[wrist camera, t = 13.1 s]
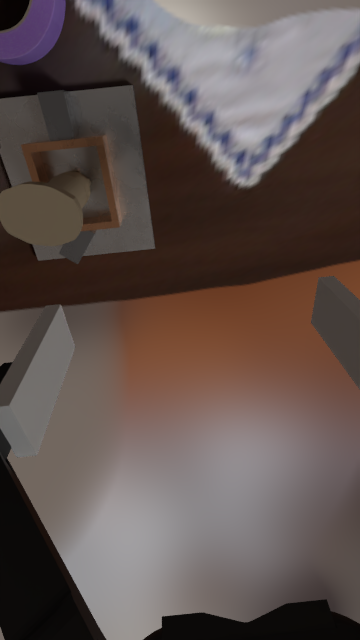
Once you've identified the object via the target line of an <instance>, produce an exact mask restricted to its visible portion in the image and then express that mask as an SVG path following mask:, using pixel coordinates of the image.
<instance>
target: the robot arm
mask: <svg viewBox="0 0 360 640" xmlns="http://www.w3.org/2000/svg"><path fill="white" fill-rule="evenodd" d="M311 323H312V324H313V326H314V327H315V329H316V330H317V331H318V333H319V334H320V335H321V337H322V338H323V340H324V341H325V342H326V344H327V345H328V347H329V348H330V349H331V351H332V352H333V353H334V355H335V356H336V358H337V359H338V360H339V361H340V363H341V364H342V366H343V367H344V369H345V370H346V371H347V372H348V374H349V375H350V377H351V378H352V379H353V381H354V382H355V384H356V385H357V386H358V388H359V389H360V300H359V299H358V298H357V297H356V296H355V295H354V294H353V293H351V292H350V291H349V290H348V289H347V288H346V287H345V286H344V285H343V284H342V283H341V282H340V281H338V280H337V279H336V278H335V277H334V276H329V277H321V278H319V279H318V285H317V291H316V296H315V302H314V308H313V314H312V320H311ZM74 349H75V345H74V342H73V339H72V336H71V333H70V330H69V327H68V325H67V322H66V318H65V315H64V313H63V310H62V307H61V304H60V305H51V306H45V308H44V310H43V312H42V313H41V316H40V317H39V319H38V320H37V322H36V324H35V325H34V327H33V329H32V331H31V332H30V334H29V336H28V337H27V339H26V341H25V343H24V344H23V346H22V348H21V349H20V351H19V353H18V354H17V356H16V358H15V360H14V361H13V362H10V363H4V364H3V365H1V366H0V627H1V630H2V633H3V636H4V639H5V640H106V638H105V637H104V635H103V633H102V632H101V630H100V628H99V627H98V625H97V623H96V621H95V619H94V618H93V616H92V614H91V612H90V610H89V608H88V606H87V605H86V603H85V601H84V599H83V597H82V595H81V594H80V592H79V590H78V588H77V586H76V584H75V583H74V581H73V579H72V577H71V575H70V573H69V571H68V570H67V568H66V566H65V564H64V562H63V560H62V558H61V557H60V555H59V553H58V551H57V549H56V547H55V545H54V544H53V542H52V540H51V538H50V536H49V534H48V533H47V531H46V529H45V527H44V525H43V523H42V522H41V520H40V518H39V516H38V514H37V512H36V510H35V509H34V507H33V505H32V503H31V501H30V499H29V497H28V496H27V494H26V492H25V490H24V488H23V486H22V485H21V483H20V481H19V479H18V477H17V475H16V474H15V471H14V470H13V468H12V466H11V464H10V462H9V461H8V459H7V456H8V454H9V452H10V449H12V450H13V452H14V454H15V455H16V457H27V456H36V455H37V454H38V451H39V448H40V446H41V443H42V440H43V437H44V434H45V431H46V429H47V426H48V423H49V420H50V417H51V415H52V411H53V409H54V406H55V403H56V400H57V398H58V394H59V392H60V389H61V386H62V383H63V380H64V378H65V375H66V372H67V369H68V366H69V364H70V361H71V358H72V355H73V352H74ZM144 640H360V624H359V623H357V622H355V621H353V620H352V619H350V618H348V617H346V616H343V615H341V614H338V613H335V612H332V611H330V608H329V605H328V602H327V600H317V601H307V602H298V603H288V604H285V605H283V606H281V607H279V608H277V609H275V610H273V611H271V612H269V613H267V614H265V615H263V616H261V617H259V618H257V619H255V620H253V621H250V622H245V623H244V622H239V621H235V620H231V619H227V618H223V617H219V616H215V615H211V614H206V613H192V614H183V615H173V616H165V617H162V628H161V629H159V630H156V631H154V632H153V633H152V634H150V635H149V636H147V637H146V638H145V639H144Z"/></svg>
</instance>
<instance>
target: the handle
mask: <svg viewBox="0 0 360 640" xmlns="http://www.w3.org/2000/svg"><path fill="white" fill-rule="evenodd" d="M90 183H91V181H90V179H89V178H87V177H85V176H83V175H82V174H81V172H80V171H77V170H74V171H69V172H64V173H61V174H59V175H57V176H55V177H53V178H52V179H51V180H50V181H49V182H48V183H45V182H33V181H32V182H25V183H21V184H19V185H16V186H14V187H11V188H9V189H6V190H4V191H2V192H1V194H0V221H1V223H2V225H3V227H4V228H5V230H6V231H7V232H8V233H9V234H11V235H13V236H15V237H17V238H19V239H21V240H23V241H25V242H27V243H30V244H34V245H43V246H58V245H62V244H65V243H68V242H70V241H73V240H75V239H76V238H77V236H78V235H79V233H80V231H81V229H82V225H83V212H82V208H83V207H84V206H85V204H86V203H87V201H88V199H89V197H90V194H91V190H90Z"/></svg>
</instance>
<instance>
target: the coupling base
mask: <svg viewBox="0 0 360 640" xmlns="http://www.w3.org/2000/svg"><path fill="white" fill-rule="evenodd" d="M0 154H1V157H2V160H3V163H4V166H5V169H6V171H7V174H8V177H9V180H10V183H11V185H12V187H14V186H16V185H19V184H21V183H25V182H32V181H33V182H45V183H48V182H49V181H50V180H51V179H52V178H53V177H55V176H57V175H59V174H61V173H64V172H69V171H74V170H77V171H80V172H81V174H82V175H83V176H85V177H87V178H89V179H90V181H91V183H90V190H91V194H90V197H89V199H88V201H87V203H86V204H85V206H84V207H83V208H82V212H83V225H82V229H81V231H80V233H79V235H78V236H77V238H76V239H75V240H73V241H70V242H68V243H65V244H62V245H58V246H43V245H34V244H32V245H33V247H34V250H35V253H36V256H37V259H38V261H39V260H49V259H59V258H67V259H69V260H71V261H73V262H75V263H76V264H78V263H79V261H80V259H81V258H82V256H88V255H97V254H107V253H116V252H126V251H136V250H145V249H155V242H154V235H153V227H152V220H151V212H150V205H149V198H148V190H147V183H146V175H145V168H144V161H143V153H142V146H141V138H140V131H139V123H138V116H137V109H136V101H135V94H134V86H133V85H128V86H118V87H109V88H99V89H89V90H80V91H70V92H69V91H65V90H59V91H49V92H40V93H37V95H31V96H22V97H12V98H2V99H0Z"/></svg>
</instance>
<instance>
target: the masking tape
mask: <svg viewBox="0 0 360 640" xmlns="http://www.w3.org/2000/svg"><path fill="white" fill-rule="evenodd" d="M65 5H66V2H65V0H30V2H29V6H28V9H27V11H26V13H25V15H24V17H23V18H22V19H21V21H20V22H19V23H18V24H17V25H15V26H14V27H12V28H10V29H7V30H3V31H0V62H3V63H6V64H12V65H25V64H29V63H33V62H35V61H37V60H39V59H41V58H42V57H44V56H45V55H46V54H47V53H48V52H49V51H50V50H51V49H52V48H53V46H54V45H55V43H56V41H57V39H58V37H59V35H60V33H61V30H62V26H63V22H64V17H65Z"/></svg>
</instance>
